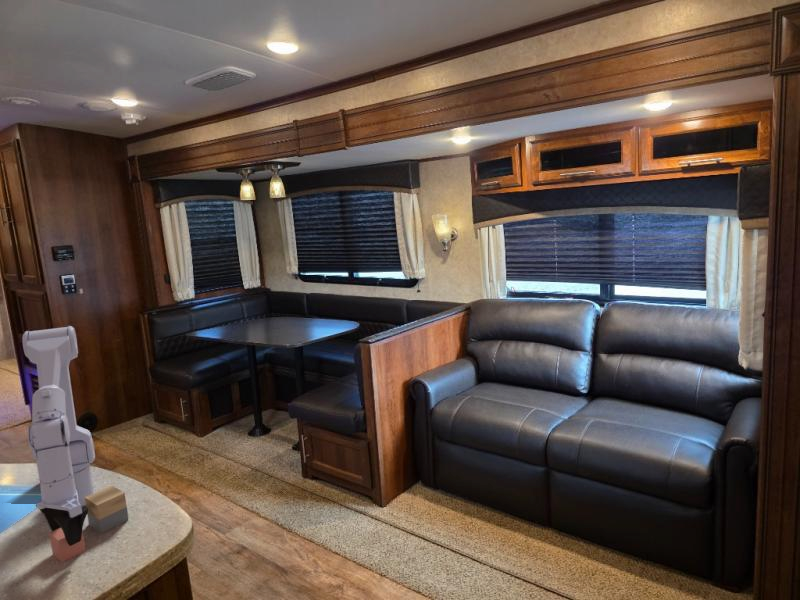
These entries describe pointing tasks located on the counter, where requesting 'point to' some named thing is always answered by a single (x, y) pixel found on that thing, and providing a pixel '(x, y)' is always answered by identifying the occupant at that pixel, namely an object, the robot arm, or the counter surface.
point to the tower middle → (105, 502)
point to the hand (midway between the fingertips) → (66, 536)
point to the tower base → (108, 520)
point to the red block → (65, 545)
